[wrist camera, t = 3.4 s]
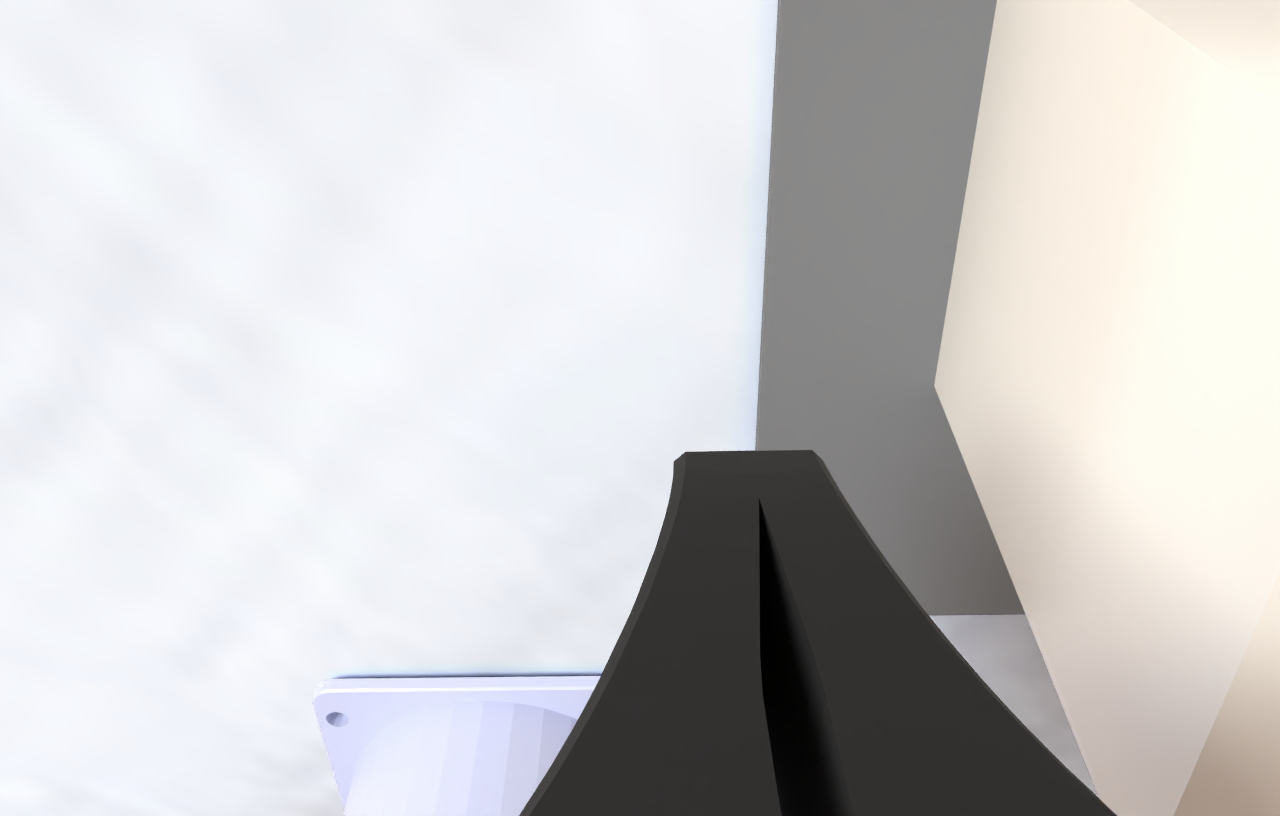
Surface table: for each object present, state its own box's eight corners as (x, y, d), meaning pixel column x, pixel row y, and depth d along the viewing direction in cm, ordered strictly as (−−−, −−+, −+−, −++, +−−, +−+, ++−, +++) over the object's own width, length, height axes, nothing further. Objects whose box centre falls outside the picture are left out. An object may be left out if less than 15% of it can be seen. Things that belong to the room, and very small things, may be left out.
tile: (1028, 384, 20) (1301, 895, 12) (934, 385, 20) (1138, 895, 12) (1133, -86, 15) (1705, 211, 7) (1010, -82, 15) (1435, 214, 7)
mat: (1481, 595, 23) (1492, 609, 23) (747, 604, 24) (748, 617, 23) (1996, -272, 14) (2028, -271, 14) (789, -243, 14) (793, -240, 14)
